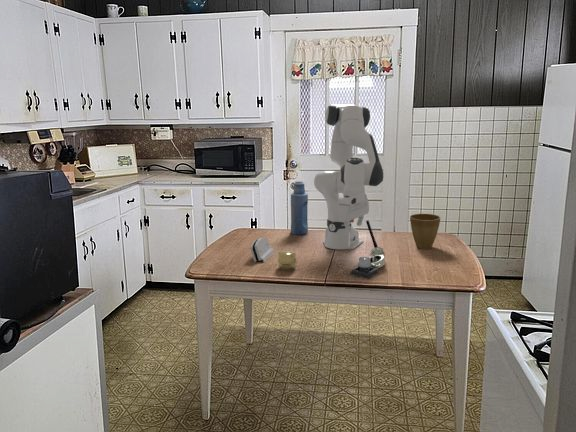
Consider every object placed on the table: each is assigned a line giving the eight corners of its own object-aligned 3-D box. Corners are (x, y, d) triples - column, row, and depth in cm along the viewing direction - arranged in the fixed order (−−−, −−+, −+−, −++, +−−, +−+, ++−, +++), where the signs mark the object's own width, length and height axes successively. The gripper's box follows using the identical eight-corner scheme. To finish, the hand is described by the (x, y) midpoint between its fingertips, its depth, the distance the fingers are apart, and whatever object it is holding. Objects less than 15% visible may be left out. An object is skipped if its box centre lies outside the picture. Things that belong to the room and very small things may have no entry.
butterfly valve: (384, 272, 213) (389, 256, 229) (370, 230, 209) (376, 217, 224) (366, 276, 216) (371, 260, 232) (351, 235, 212) (358, 222, 228)
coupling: (362, 268, 215) (362, 255, 214) (373, 271, 212) (373, 258, 211) (355, 272, 211) (355, 258, 210) (366, 274, 208) (366, 261, 206)
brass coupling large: (286, 263, 227) (285, 249, 225) (299, 267, 222) (299, 252, 220) (274, 268, 221) (274, 253, 219) (288, 272, 216) (288, 257, 214)
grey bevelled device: (264, 262, 229) (256, 242, 228) (255, 265, 230) (247, 245, 229) (274, 251, 244) (267, 233, 243) (266, 254, 246) (259, 236, 245)
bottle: (296, 229, 285) (295, 179, 278) (311, 231, 280) (310, 180, 273) (287, 233, 277) (287, 181, 270) (302, 235, 272) (302, 183, 265)
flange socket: (360, 268, 218) (360, 264, 218) (378, 273, 212) (378, 268, 212) (349, 274, 211) (350, 269, 211) (368, 279, 206) (368, 274, 205)
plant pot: (436, 243, 254) (438, 213, 250) (440, 252, 240) (442, 220, 236) (407, 242, 257) (408, 212, 253) (409, 250, 243) (410, 219, 239)
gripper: (360, 191, 216) (359, 221, 220) (334, 200, 201) (334, 232, 204) (372, 193, 212) (372, 223, 216) (348, 202, 197) (347, 234, 200)
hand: (353, 227), depth 210 cm, fingers open, 8 cm apart
